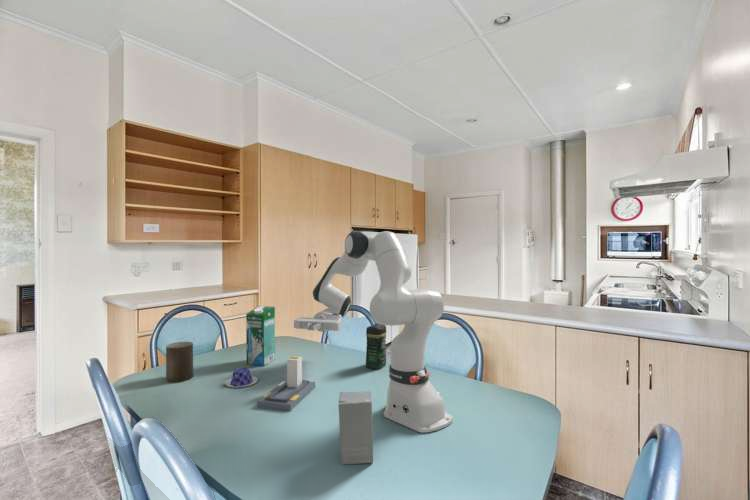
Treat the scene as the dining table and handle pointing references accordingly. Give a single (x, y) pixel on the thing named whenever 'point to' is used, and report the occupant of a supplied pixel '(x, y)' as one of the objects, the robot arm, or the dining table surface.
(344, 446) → the skincare box
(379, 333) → the coffee jar
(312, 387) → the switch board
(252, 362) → the milk carton
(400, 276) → the robot arm
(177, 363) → the pillar candle
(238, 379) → the pudding
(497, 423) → the dining table surface
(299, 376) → the white rectangular block
